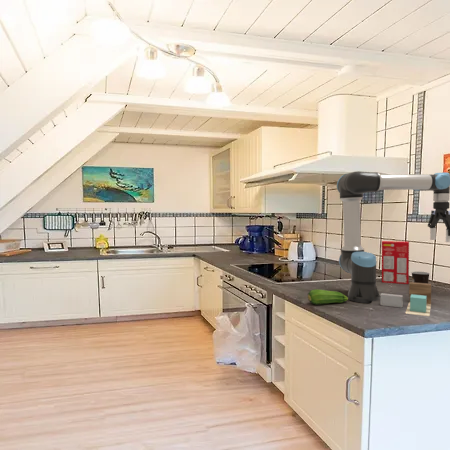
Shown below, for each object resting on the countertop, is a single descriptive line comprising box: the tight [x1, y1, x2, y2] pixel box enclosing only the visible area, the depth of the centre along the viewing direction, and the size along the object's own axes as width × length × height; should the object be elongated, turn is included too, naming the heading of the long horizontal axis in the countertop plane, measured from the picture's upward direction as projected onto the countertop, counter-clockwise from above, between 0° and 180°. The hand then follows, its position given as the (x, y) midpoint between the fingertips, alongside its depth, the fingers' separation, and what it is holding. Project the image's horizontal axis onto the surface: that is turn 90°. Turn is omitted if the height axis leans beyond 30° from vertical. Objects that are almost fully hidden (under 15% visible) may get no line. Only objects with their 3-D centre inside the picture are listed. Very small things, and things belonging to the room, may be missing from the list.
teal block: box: [410, 294, 427, 313], centre depth 157 cm, size 6×6×6 cm
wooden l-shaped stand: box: [405, 281, 432, 317], centre depth 161 cm, size 24×9×10 cm, turn 149°
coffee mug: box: [411, 271, 430, 284], centre depth 196 cm, size 12×9×10 cm
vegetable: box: [307, 289, 349, 306], centre depth 175 cm, size 7×7×20 cm
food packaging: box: [381, 240, 410, 285], centre depth 219 cm, size 15×5×25 cm, turn 65°
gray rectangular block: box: [380, 292, 404, 309], centre depth 158 cm, size 20×9×6 cm, turn 149°
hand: (440, 241), depth 195 cm, fingers open, 13 cm apart
